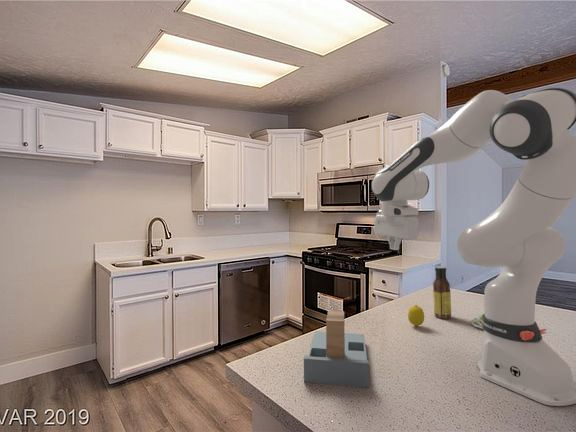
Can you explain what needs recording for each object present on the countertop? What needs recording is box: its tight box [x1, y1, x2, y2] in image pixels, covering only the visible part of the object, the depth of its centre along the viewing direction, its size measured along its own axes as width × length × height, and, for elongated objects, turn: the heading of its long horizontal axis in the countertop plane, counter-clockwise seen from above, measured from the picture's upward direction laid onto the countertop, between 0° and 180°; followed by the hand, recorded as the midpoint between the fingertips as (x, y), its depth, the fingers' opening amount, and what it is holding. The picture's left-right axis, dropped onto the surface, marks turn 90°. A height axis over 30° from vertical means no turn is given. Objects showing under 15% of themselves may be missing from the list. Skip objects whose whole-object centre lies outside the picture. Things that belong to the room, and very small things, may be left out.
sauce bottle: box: [432, 266, 452, 320], centre depth 130 cm, size 6×6×20 cm
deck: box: [303, 330, 370, 388], centre depth 94 cm, size 26×16×6 cm, turn 169°
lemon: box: [407, 304, 425, 328], centre depth 119 cm, size 6×6×8 cm
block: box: [325, 310, 346, 359], centre depth 88 cm, size 8×4×12 cm, turn 169°
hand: (394, 249), depth 115 cm, fingers closed
